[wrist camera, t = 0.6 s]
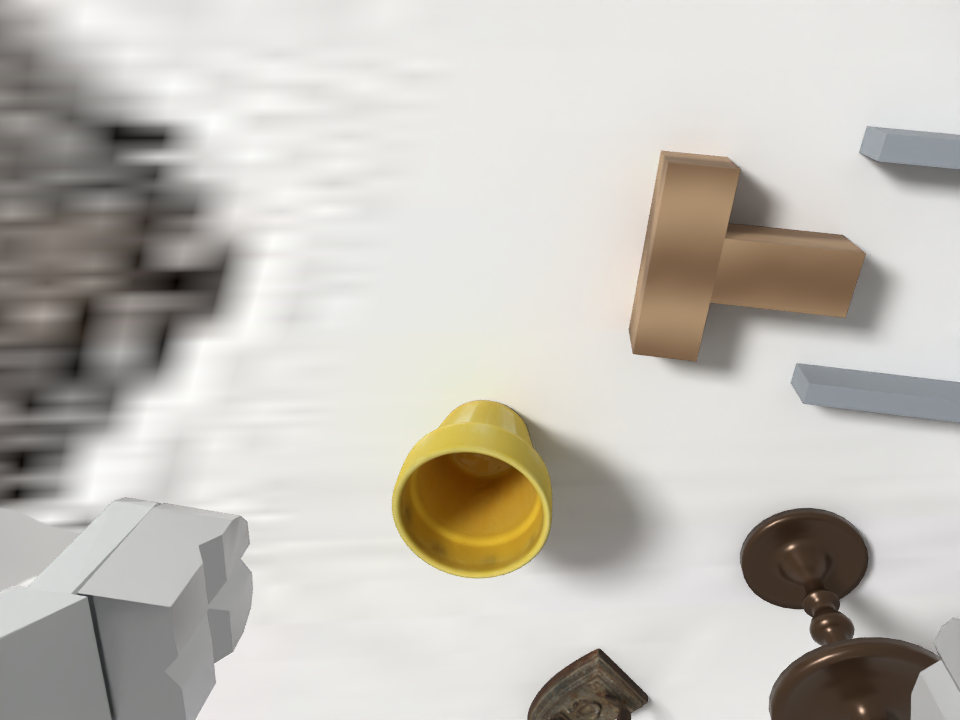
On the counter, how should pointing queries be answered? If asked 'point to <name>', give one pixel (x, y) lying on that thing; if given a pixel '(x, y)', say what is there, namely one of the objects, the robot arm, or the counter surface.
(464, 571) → the plant pot
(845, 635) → the candlestick
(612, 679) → the clothes iron
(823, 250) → the t block
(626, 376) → the counter surface
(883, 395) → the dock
